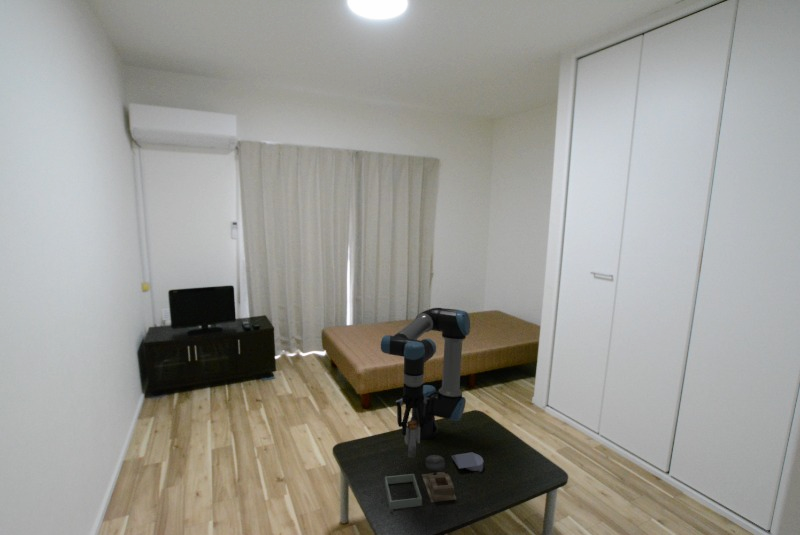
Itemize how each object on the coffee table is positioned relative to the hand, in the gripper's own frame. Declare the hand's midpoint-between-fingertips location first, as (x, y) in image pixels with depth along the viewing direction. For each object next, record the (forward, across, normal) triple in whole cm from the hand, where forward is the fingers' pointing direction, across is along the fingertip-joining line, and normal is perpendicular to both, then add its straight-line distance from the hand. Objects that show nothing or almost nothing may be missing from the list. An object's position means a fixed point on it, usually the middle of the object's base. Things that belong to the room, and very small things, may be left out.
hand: (412, 441), depth 142 cm
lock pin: (+6, 0, 0) cm, 6 cm away
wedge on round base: (+23, +29, +13) cm, 39 cm away
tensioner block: (+23, +12, +3) cm, 26 cm away
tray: (+23, -3, +1) cm, 23 cm away
